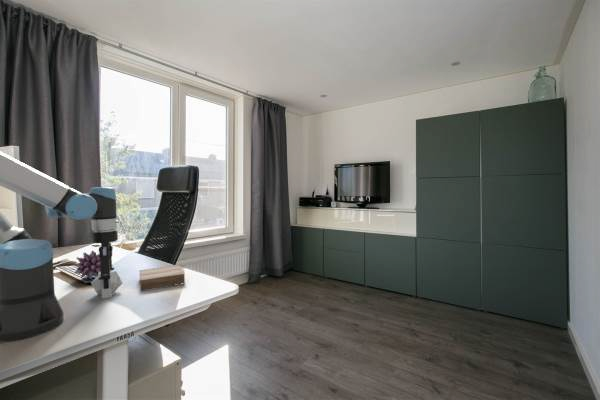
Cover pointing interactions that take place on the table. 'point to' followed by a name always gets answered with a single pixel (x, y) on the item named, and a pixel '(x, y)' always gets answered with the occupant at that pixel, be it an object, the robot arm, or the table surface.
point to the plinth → (161, 277)
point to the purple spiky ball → (89, 265)
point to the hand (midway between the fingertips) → (107, 292)
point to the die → (115, 283)
